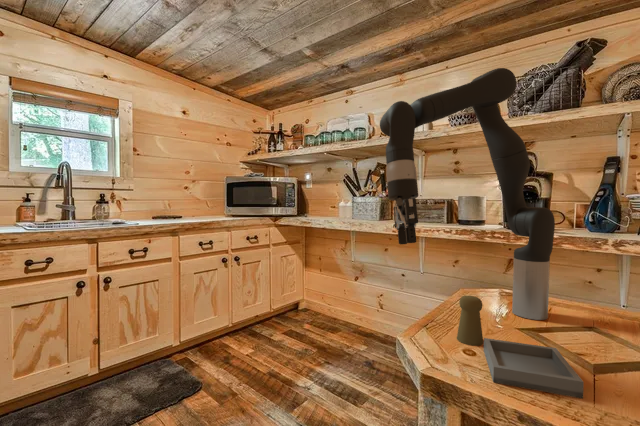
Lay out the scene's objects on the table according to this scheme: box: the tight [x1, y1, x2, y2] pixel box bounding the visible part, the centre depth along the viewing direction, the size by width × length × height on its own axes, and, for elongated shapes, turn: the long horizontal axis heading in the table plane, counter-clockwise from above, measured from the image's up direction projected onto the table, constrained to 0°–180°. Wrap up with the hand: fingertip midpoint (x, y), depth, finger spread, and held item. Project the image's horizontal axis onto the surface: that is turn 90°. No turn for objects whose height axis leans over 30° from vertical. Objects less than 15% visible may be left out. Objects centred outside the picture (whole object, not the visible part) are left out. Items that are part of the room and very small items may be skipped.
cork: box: [456, 295, 484, 347], centre depth 79 cm, size 6×6×11 cm
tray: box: [483, 337, 585, 400], centre depth 65 cm, size 14×14×3 cm
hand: (407, 243), depth 80 cm, fingers open, 8 cm apart
